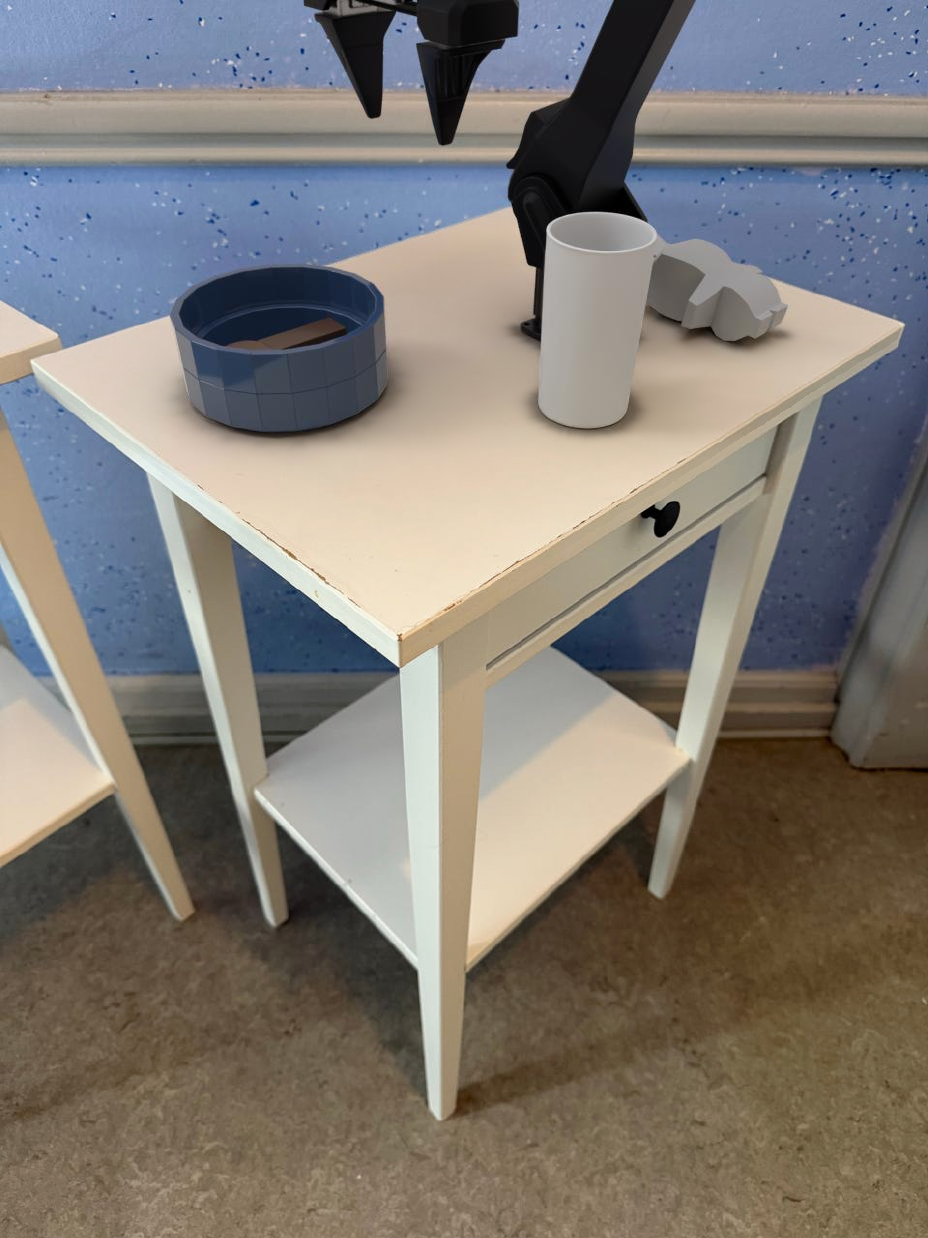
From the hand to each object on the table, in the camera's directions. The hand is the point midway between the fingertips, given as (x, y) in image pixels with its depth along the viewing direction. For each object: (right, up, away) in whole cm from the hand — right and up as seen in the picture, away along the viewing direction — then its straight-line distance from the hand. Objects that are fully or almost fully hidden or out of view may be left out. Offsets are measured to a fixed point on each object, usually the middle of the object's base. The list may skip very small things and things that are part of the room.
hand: (408, 130), depth 71 cm
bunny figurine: (+23, -13, +4) cm, 26 cm away
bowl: (-8, -21, -5) cm, 23 cm away
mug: (+14, -22, -6) cm, 27 cm away
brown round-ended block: (-8, -21, -6) cm, 23 cm away
